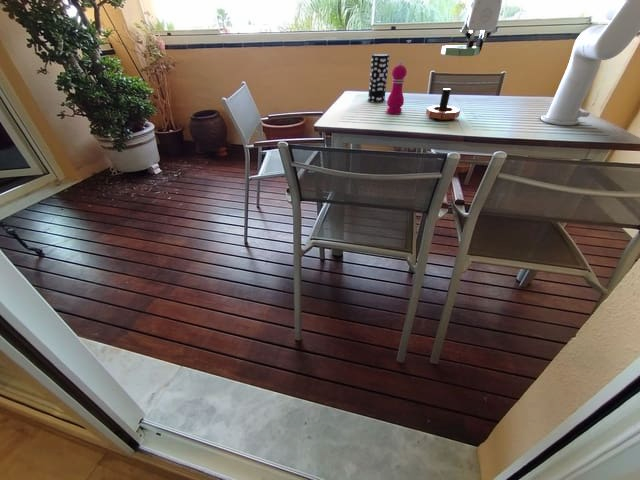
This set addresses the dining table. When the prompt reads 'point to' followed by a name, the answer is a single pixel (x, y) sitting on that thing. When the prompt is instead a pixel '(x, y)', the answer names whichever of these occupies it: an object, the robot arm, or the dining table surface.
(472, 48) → the ring green
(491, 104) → the dining table surface
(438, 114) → the ring terracotta
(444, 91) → the peg stand
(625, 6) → the robot arm
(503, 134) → the dining table surface
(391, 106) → the pepper mill
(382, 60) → the white-spotted black cylinder
